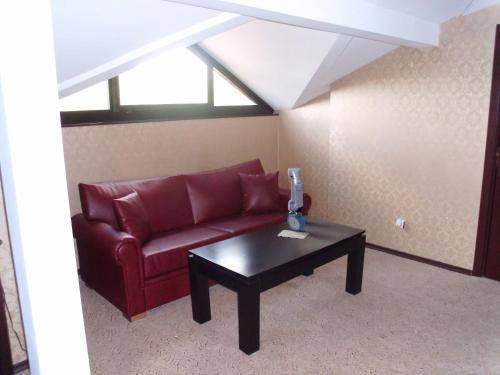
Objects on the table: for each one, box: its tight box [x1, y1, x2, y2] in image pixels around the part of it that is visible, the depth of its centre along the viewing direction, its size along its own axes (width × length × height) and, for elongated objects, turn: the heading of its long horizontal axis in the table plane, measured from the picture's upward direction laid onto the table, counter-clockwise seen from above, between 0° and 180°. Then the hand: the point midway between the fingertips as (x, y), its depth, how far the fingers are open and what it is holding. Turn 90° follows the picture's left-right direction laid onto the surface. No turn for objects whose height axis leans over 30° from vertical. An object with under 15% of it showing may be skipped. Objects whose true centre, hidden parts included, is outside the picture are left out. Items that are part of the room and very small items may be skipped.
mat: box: [277, 229, 310, 240], centre depth 301 cm, size 14×20×1 cm
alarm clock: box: [286, 211, 306, 232], centre depth 308 cm, size 13×6×15 cm, turn 43°
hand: (298, 216), depth 311 cm, fingers closed
